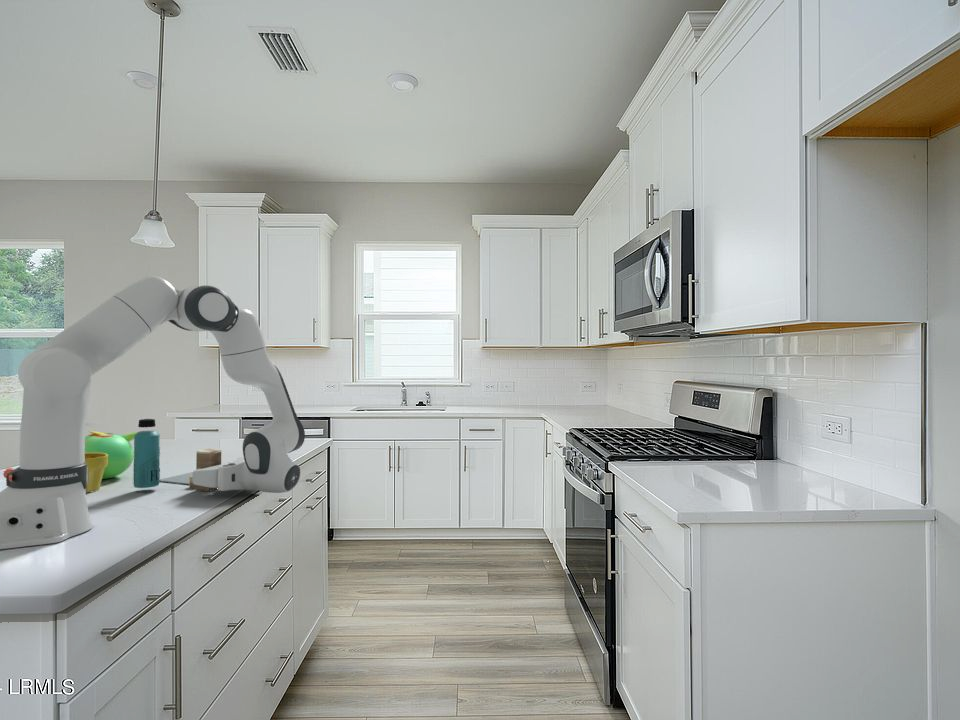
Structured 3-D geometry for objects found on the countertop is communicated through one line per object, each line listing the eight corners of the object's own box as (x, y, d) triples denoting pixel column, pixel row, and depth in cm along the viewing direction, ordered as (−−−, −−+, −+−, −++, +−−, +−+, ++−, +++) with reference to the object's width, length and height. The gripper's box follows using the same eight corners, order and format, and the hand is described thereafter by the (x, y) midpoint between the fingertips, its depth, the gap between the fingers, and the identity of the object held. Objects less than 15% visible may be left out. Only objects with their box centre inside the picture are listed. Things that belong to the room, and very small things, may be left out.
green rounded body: (52, 481, 167) (53, 431, 167) (105, 471, 183) (105, 425, 183) (98, 486, 162) (99, 435, 162) (148, 475, 178) (149, 428, 178)
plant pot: (97, 494, 153) (98, 458, 153) (54, 495, 150) (54, 459, 150) (113, 486, 163) (114, 452, 163) (73, 487, 160) (73, 452, 160)
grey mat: (193, 485, 165) (193, 484, 165) (157, 481, 169) (157, 480, 169) (229, 476, 178) (229, 475, 178) (194, 472, 183) (194, 471, 183)
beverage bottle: (151, 493, 154) (152, 420, 154) (126, 493, 154) (128, 420, 154) (164, 488, 161) (165, 417, 161) (141, 487, 161) (142, 417, 161)
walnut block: (208, 491, 158) (209, 452, 158) (195, 490, 159) (196, 451, 159) (220, 488, 162) (221, 449, 162) (208, 486, 163) (209, 448, 163)
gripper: (271, 456, 166) (233, 452, 171) (218, 468, 147) (177, 464, 151) (270, 477, 166) (233, 473, 171) (217, 492, 147) (176, 487, 151)
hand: (206, 469), depth 161 cm, fingers closed on walnut block, 4 cm apart
